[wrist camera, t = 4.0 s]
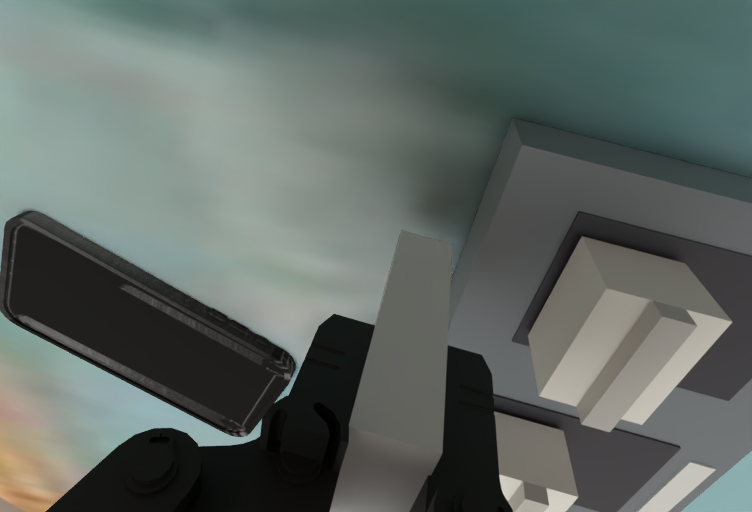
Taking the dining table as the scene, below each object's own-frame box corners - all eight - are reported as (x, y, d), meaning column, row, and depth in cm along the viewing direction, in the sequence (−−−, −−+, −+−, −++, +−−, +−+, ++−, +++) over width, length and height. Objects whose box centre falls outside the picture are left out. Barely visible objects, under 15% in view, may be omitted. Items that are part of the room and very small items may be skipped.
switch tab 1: (487, 409, 17) (492, 489, 14) (563, 430, 17) (582, 515, 14) (456, 466, 19) (455, 544, 16) (523, 485, 19) (533, 568, 16)
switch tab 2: (582, 236, 12) (613, 303, 10) (685, 263, 12) (746, 339, 10) (527, 335, 15) (541, 413, 12) (615, 359, 14) (649, 443, 12)
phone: (243, 442, 26) (-4, 315, 23) (250, 426, 26) (13, 302, 24) (299, 370, 21) (5, 206, 19) (306, 353, 22) (27, 196, 20)
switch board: (512, 117, 14) (522, 146, 12) (880, 211, 14) (977, 262, 11) (371, 494, 27) (361, 547, 25) (558, 549, 27) (568, 609, 24)
